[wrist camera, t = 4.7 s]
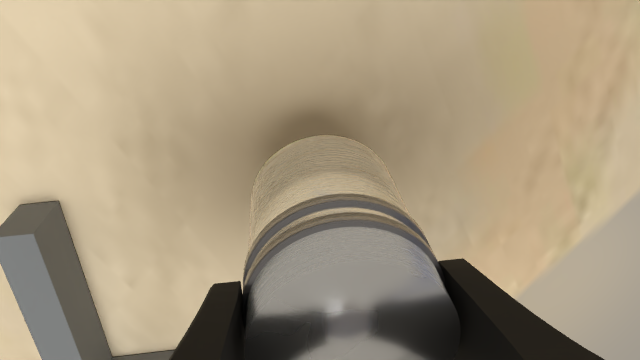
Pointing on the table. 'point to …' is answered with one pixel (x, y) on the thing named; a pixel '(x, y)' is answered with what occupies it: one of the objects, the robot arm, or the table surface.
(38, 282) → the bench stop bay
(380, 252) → the piston
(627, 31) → the table surface
